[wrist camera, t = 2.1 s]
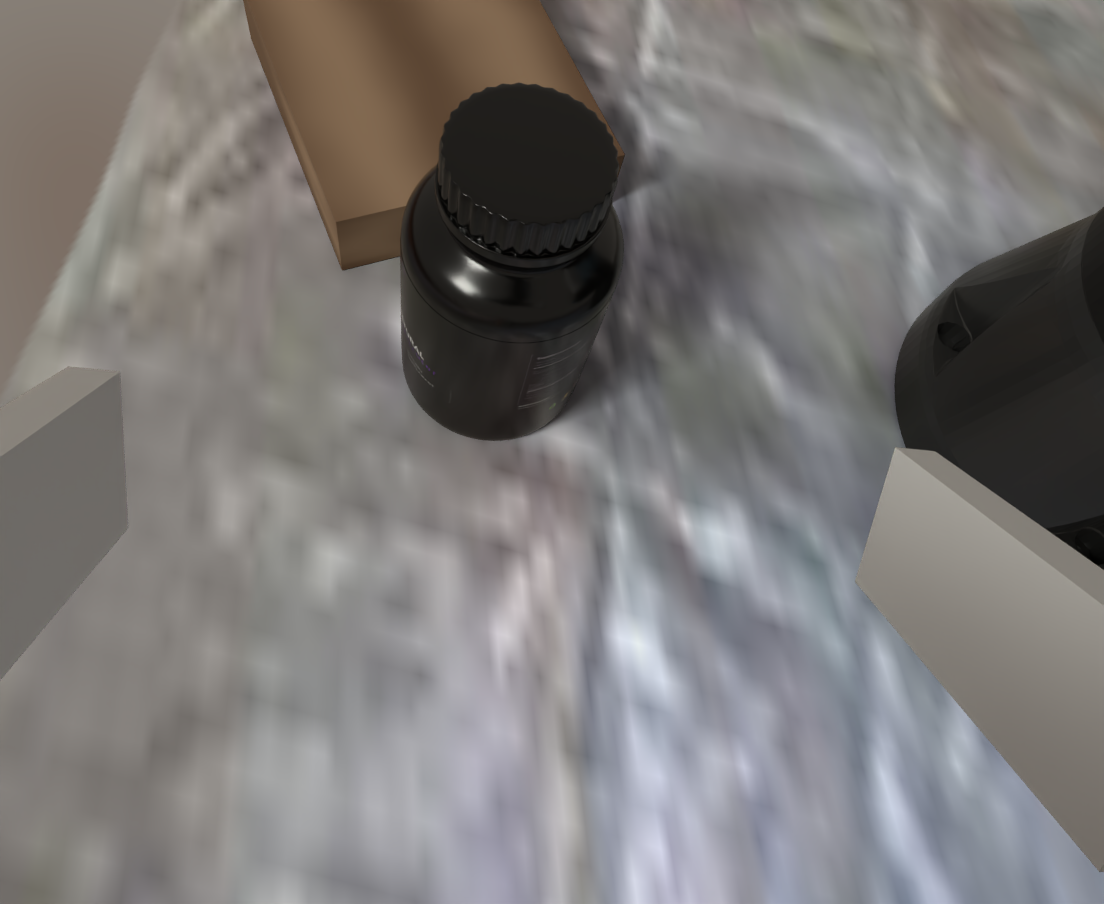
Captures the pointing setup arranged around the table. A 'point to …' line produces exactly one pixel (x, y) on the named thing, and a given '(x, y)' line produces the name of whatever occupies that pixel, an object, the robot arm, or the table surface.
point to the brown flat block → (392, 94)
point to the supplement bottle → (508, 260)
